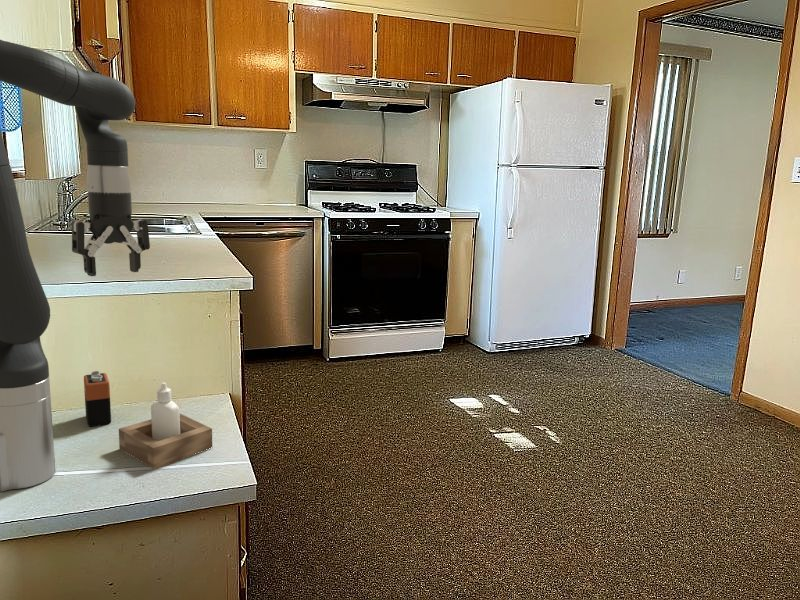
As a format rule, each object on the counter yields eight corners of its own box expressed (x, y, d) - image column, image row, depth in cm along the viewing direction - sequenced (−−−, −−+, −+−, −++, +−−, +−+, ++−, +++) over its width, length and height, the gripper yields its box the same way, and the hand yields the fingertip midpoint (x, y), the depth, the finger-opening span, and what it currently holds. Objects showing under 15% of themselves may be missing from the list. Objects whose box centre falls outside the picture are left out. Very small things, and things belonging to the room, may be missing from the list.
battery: (88, 427, 125) (85, 380, 123) (85, 415, 130) (83, 370, 128) (111, 424, 127) (109, 377, 125) (108, 412, 133) (106, 368, 131)
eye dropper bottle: (174, 435, 120) (172, 376, 118) (182, 446, 116) (179, 385, 113) (151, 440, 118) (148, 380, 116) (157, 451, 113) (154, 389, 111)
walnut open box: (154, 471, 109) (153, 448, 108) (119, 451, 116) (118, 428, 115) (212, 450, 118) (212, 428, 117) (176, 432, 125) (176, 411, 125)
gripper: (80, 190, 110) (85, 280, 114) (154, 191, 121) (157, 272, 125) (61, 188, 115) (67, 274, 118) (134, 189, 126) (138, 268, 129)
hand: (113, 273), depth 121 cm, fingers open, 8 cm apart
